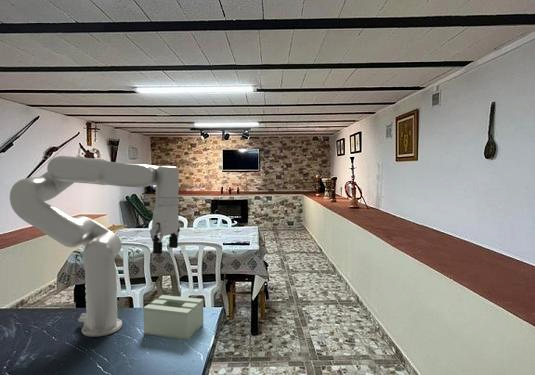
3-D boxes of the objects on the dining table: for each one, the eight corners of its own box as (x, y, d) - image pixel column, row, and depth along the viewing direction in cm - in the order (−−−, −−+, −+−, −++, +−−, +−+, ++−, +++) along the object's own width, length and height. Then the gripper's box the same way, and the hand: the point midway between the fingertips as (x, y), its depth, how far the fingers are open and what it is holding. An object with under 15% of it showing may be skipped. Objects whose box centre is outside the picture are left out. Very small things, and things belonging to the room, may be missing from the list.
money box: (143, 334, 118) (143, 307, 117) (162, 319, 129) (162, 294, 129) (187, 340, 114) (187, 312, 113) (203, 323, 126) (203, 299, 125)
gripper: (171, 199, 132) (169, 244, 133) (142, 203, 115) (140, 254, 116) (189, 200, 130) (187, 246, 131) (162, 204, 113) (160, 257, 114)
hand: (165, 250), depth 124 cm, fingers open, 9 cm apart
